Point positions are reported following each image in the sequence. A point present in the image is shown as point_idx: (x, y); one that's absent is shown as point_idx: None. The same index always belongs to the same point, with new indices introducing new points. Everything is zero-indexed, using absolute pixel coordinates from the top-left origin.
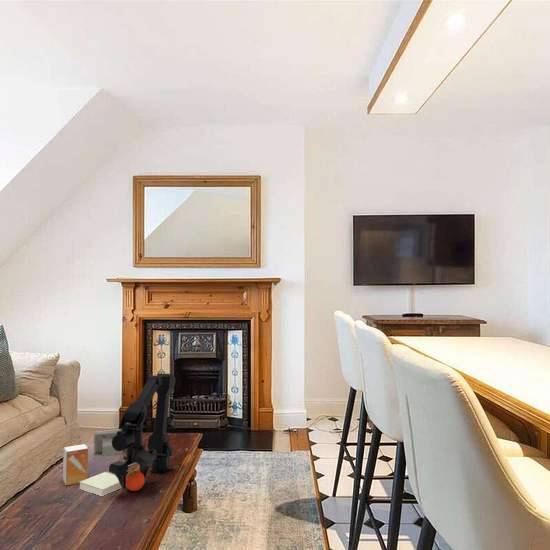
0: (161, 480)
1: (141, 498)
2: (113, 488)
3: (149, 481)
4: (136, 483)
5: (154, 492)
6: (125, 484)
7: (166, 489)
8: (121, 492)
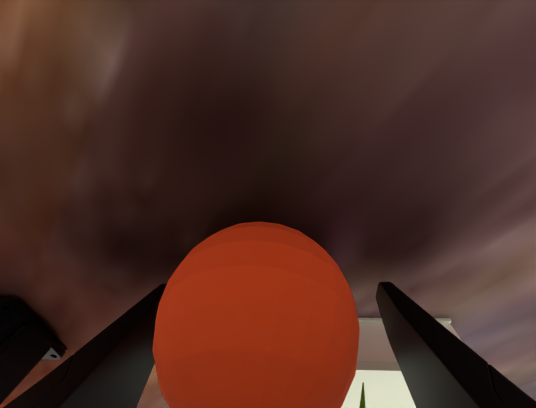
0: (38, 233)
1: (355, 78)
2: (365, 342)
3: (119, 276)
4: (312, 261)
5: (179, 89)
6: (413, 318)
7: (42, 40)
8: None
